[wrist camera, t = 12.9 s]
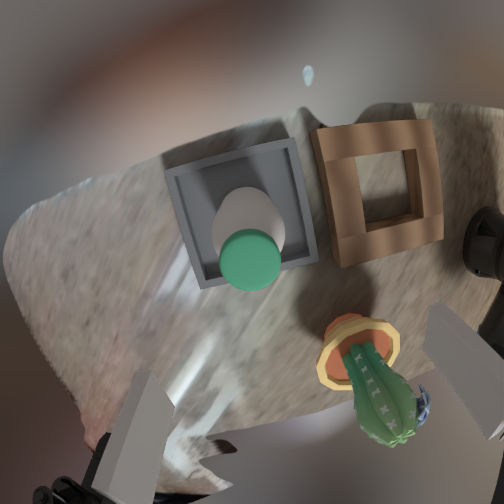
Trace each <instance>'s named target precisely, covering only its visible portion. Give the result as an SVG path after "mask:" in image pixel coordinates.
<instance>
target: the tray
mask: <svg viewBox="0 0 504 504" xmlns="http://www.w3.org/2000/svg"><path fill="white" fill-rule="evenodd" d="M164 173H165V177H166V181H167V184H168V188H169V192H170V195H171V199H172V202H173V205H174V209H175V212H176V216H177V219H178V222H179V226H180V229H181V232H182V235H183V238H184V242H185V245H186V248H187V251H188V254H189V257H190V260H191V263H192V266H193V269H194V272H195V275H196V278H197V281H198V284H199V287H200V289H205V288H210V287H214V286H219V285H223V284H227V283H228V282H227V281H226V279H225V278H224V277H223V275H222V273H221V270H220V267H219V256H218V254H217V253H216V251H215V249H214V246H213V243H212V234H211V231H212V224H213V221H214V217H215V215H216V213H217V211H218V209H219V207H220V205H221V203H222V201H223V200H224V198H225V197H226V196H227V195H228V194H229V193H230V192H232V191H233V190H235V189H237V188H241V187H253V188H257V189H259V190H261V191H263V192H264V193H265V194H266V195H267V196H268V197H269V198H270V199H271V201H272V202H273V203H274V205H275V206H276V208H277V209H278V211H279V213H280V215H281V217H282V219H283V222H284V227H285V241H284V245H283V248H282V250H281V252H280V254H281V267H280V270H279V271H283V270H287V269H291V268H295V267H300V266H304V265H308V264H312V263H316V262H319V257H318V251H317V245H316V239H315V233H314V228H313V222H312V217H311V212H310V206H309V201H308V196H307V191H306V187H305V182H304V177H303V173H302V168H301V164H300V159H299V155H298V151H297V147H296V142H295V138H294V137H292V138H287V139H282V140H277V141H272V142H268V143H263V144H258V145H254V146H250V147H245V148H241V149H237V150H233V151H229V152H225V153H222V154H218V155H214V156H211V157H207V158H203V159H200V160H197V161H193V162H190V163H187V164H183V165H180V166H177V167H174V168H171V169H168V170H165V171H164Z"/></svg>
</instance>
